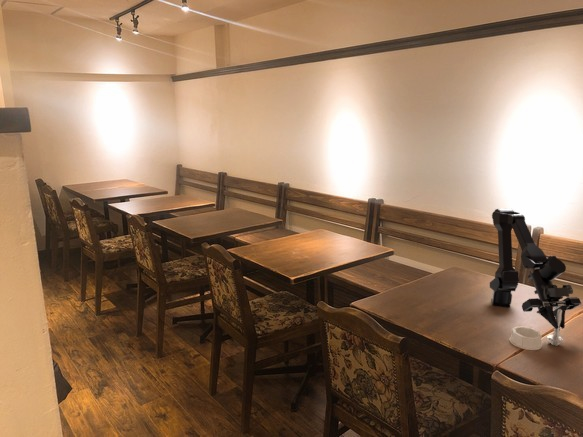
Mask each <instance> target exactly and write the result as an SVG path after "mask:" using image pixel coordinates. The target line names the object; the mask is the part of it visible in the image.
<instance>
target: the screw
mask: <svg viewBox="0 0 583 437" xmlns="http://www.w3.org/2000/svg"><path fill="white" fill-rule="evenodd" d="M561 315H562V310H561V309H558V312H557V315H556V316H557V317H556V318H555V319H556V321H557V324H558V329H555V328H554V327H553V334H549V335H548V336H546V337H547V340H548V341H549V343H551V344H550V345H552V346H554V345H555V346H556V347H558V346H559V345H560V344H561V343H564V339H563V337H561V336H560V333H561V332H560V331H561V327H560V326H561V321H562V319H561V318H562V317H561ZM555 346H554V347H555Z"/></svg>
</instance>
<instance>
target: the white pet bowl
mask: <svg viewBox="0 0 583 437" xmlns="http://www.w3.org/2000/svg"><path fill="white" fill-rule="evenodd" d="M542 337H543V336H542V334H541V332H540V331H539V330H537V329H536V328H535V329H534V328H532V327H529V326H521V325H519V326H515V327H512V329H511V336H510V337H509V343H511V345H513V346H514V347H516V348H519V349H522V350H526V351H539V350H540V349H542V346H543V345H542Z"/></svg>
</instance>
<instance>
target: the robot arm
mask: <svg viewBox="0 0 583 437" xmlns="http://www.w3.org/2000/svg"><path fill="white" fill-rule="evenodd" d="M491 216H492V217H491V218H492V224H493V226H494V227H495V229H496V231H497V238H498V239H497V240H498V241H497V242H498V243H497V245H498V267H497V269H496V271H495V273H494V278H493V279H492V280H491V281H490V282H489V288H490V289H491V290H492V291H493V292H492V296H491V297H492V298H491V303H492V306H495V307H497V306H498V307H504V308H511V304H512V299H513V294H512V292H516V290H517V288H518V285H519V282H520V278H519V275H520V274H519V271H518V270H516V269H515V268H514V266H513V245H512V243H513V242H512V230H513V232H514V234H515V237H516V239H517V241H518V244H519V247H520V250H521V254H520V259H521V262H522V265H523V267H524V268H525V269H527V270H530V269H531V271H529V274H528V275H527V278H528V279H531V280H532V283H533V284H534V289H535V290H534V295H537V296H538V298H535V297H534V298H528V299H527V300H526V301H524V302H522V305H521V308H522V312H524V313H525V312H527V313H529V312H532V311H533V309H534V308H537V311H536V313H537V314H539V315H540V316H542V318H544V319H545V320H546V321H547V322H548V323H549V324H550V325H551V326H552V327H553V329H554V328H555V329H558V324H557V321H556V317H557V316H556V315H557V312H558V309H561V310H562V315H561V317H562V318H561V319H562V321H561V326H560V329H565V326H566V325H565V323H566V322H565V321H566V320H565V319H566V318H565V317H566V311H569V310H570V311H571V310H574V309H575V308H578V307H579V306H581V305H582V301H581V299H580V298H579V297H578V296H570V295H573V294H574V290H573V288H572V286H571V284H563V285H562V287H558V285H557V284H553V280H555V279H556V278H558V277H559V276H561V275H562V274H563V273H565V272H566V270H567V269H566V268H567V266H566V265H565V263H564V262H563V261H562V260H561V259H559V258H557V256H556V255H550V256H549V257H547V255H546V254H545V252H544V251H543V250H542V249H541V248H540V247H539V246H537V245H536V242H535V241H534V238H533V235H532V234H531V231H530V230H529V227H528V225H527V223H526V218H525V215H523V214H521V213H520V212H516V211H515V210H514V209H512V208H495V209H494V211H493V212H492V213H491ZM532 269H533V270H532ZM564 297H566V298H564ZM563 298H564V299H563Z"/></svg>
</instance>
